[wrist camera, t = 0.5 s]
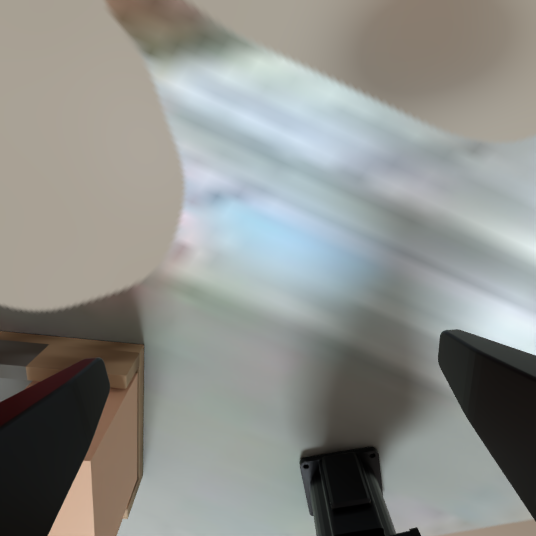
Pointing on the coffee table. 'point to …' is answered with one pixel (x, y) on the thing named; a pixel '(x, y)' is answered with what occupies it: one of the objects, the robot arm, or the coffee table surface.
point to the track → (64, 355)
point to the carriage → (104, 471)
